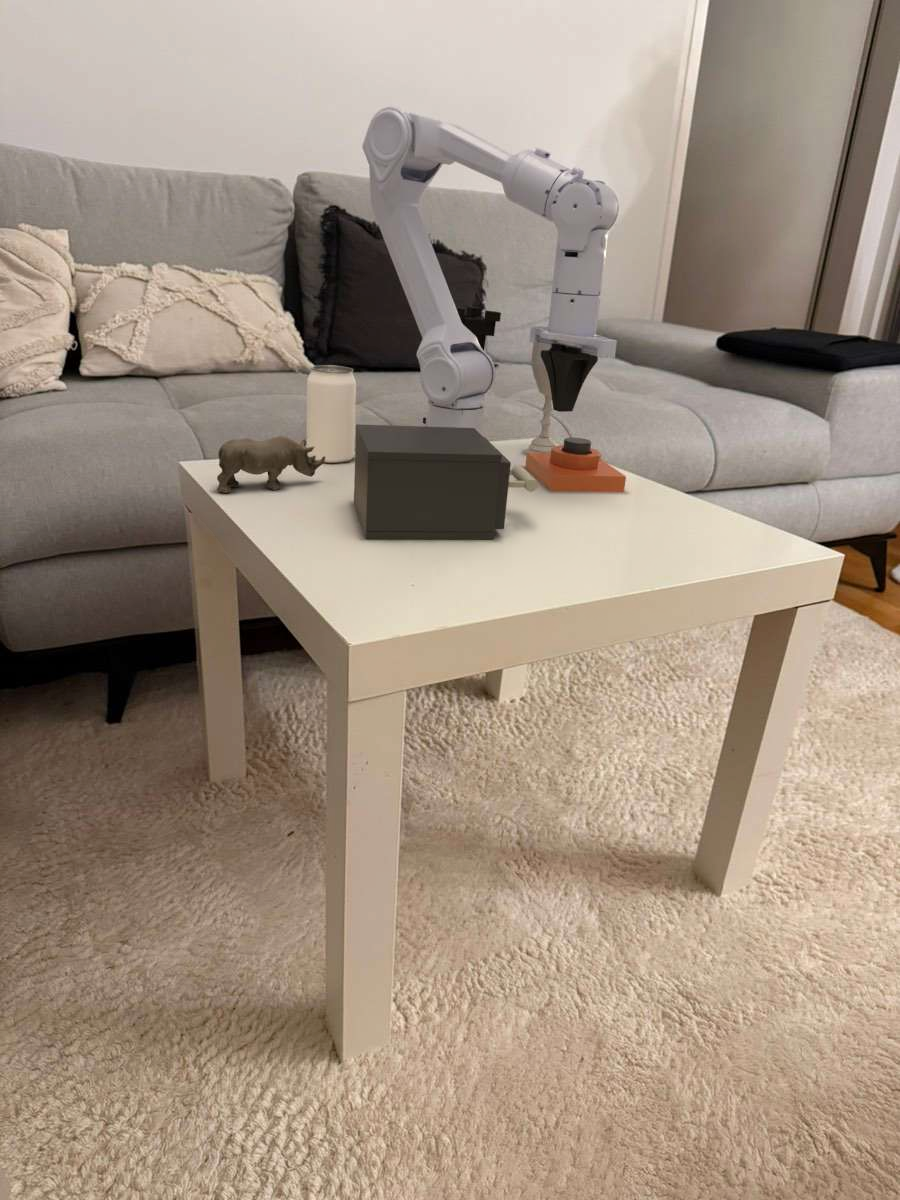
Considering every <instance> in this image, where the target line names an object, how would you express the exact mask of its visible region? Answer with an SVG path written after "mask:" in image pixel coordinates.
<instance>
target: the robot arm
mask: <svg viewBox="0 0 900 1200" xmlns="http://www.w3.org/2000/svg"><path fill="white" fill-rule="evenodd" d="M361 147H362V150H363V152H364V156H365V158H366V160H367V163H368V169H369V189H370V190H369V191H370V192H369V193H370V206H371V209H372V212H373V215H374V217H375V220H376V222H377V224H378V227H379V230H380V233H381V235H382V238H383V240H384V243H385V245H386V248H387V251H388V254H389V256H390V258H391V261H392V263H393V266H394V268H395V272H396V274H397V276H398V279H399V283H400V284H401V286H402V289H403V292H404V295H405V297H406V300H407V302H408V305H409V307H410V309H411V312H412V315H413V317H414V320H415V322H416V325H417V328H418V331H419V332H420V336H421V338H422V339H421V341H420V344H419V346H418V349H417V351H416V355H415V356H416V358H417V360H418V364H419V369H420V384H421V388H422V391H423V392H424V395H426V397H427V404H428V409H427V412H426V416H425V418H426V424H425V427H457V428H475V429H476V430H477V431H478V432H479V433H480V434H481V435H482V430H483V429H482V428H483V417H484V406H485V398H486V394H488V393H489V391H490V390H491V389H492V388H493V386H494V385H495V381H496V367H495V364H494V361H493V359H492V358H491V357H490V355H489V354H487V353H488V352H486V351H485V350H484V351H483V349H482V348H481V347H480V345H479V342H478V340H477V337H476V336H475V335H474V334H473V333H472V332H471V331H470V330H469V329H467V328H466V327H465V326H464V325H463V324H462V322H461V320H460V317H459V315H458V312H457V309H456V304H455V302H454V299H453V297H452V293H451V291H450V289H449V286H448V283H447V280H446V278H445V276H444V273H443V271H442V268H441V265H440V262H439V260H438V258H437V255H436V252H435V249H434V247H433V244H432V242H431V239H430V236H429V234H428V231H427V228H426V226H425V223H424V221H423V218H422V216H421V212H420V210H419V207H418V204H419V202H420V200H421V197H422V195H423V193H424V192H425V191H426V189H427V188H428V187H429V186H430V184H431V182H432V181H433V180H434V178H435V176H436V175H437V174H438V172H439V171H440V170H441V168H442V167H443V165H446V166H447V165H448V166H450V165H453V164H454V163H457V164H460V165H462V166H464V167H466V168H469V169H471V170H473V171H475V172H478V173H480V174H481V175H484V176H486V177H488V178H491V179H492V180H495V181H497V182H499V183H501V185H502V189H503V192H504V196H505V197H506V199H507V200H508V201H510V202H511V203H514V204H516V205H518V206H520V207H522V208H523V209H526V210H528V211H529V212H531V213H533V214H535V215H536V216H539V217H541V218H543V219H546V221H548V222H551V223H553V224H554V225H555V227H556V229H557V242H556V249H555V258H554V268H553V277H552V286H551V287H552V288H551V295H550V296H551V297H550V307H549V316H548V326H544V325H531V326H530V331H529V343H532V344H533V343H542V344H546V345H551V348H550V350H542V351H541V358H542V360H543V362H544V365H545V367H546V370H547V374H548V378H549V382H550V388H551V395H552V401H551V404H552V409H553V411H556V412H559V413H563V412H564V413H565V412H568V413H569V412H573V411H574V408H575V405H576V402H577V400H578V398H579V395H580V392H581V389H582V387H583V385H584V383H585V381H586V379H587V377H588V376H589V374H590V373H591V371H592V369H593V368H594V367H595V365H596V364H597V363H598V361H599V360H598V359H615V358H616V352H617V345H618V340H616V339H611V338H608V337H605V336H602V335H600V334H597V328H598V320H599V313H600V304H601V295H602V289H603V280H604V272H605V264H606V257H607V246H608V237H609V231H610V229H612V228H613V226H614V225H615V223H616V221H617V218H618V216H619V211H620V205H619V204H620V203H619V199H618V196H617V195H616V192H615V191H614V190H613V189H612V188H611V187H610V186H608V185H607V184H606V182H605V181H603V180H591V179H587V178H584V174H585V170H583V169H581V168H579V167H577V166H573V167H572V169H571V168H569V167H567V166H565V165H563V164H560V163H558V162H557V161H555V160H552V159H550V156H551V152H550V151H547V150H546V149H543V148H541V147H536V148H535V150H532V149H524V150H522V151H520V152H517V153H516V154H512V153H511V152H508V151H506V150H505V149H502V148H501V147H499V146H497V145H495V144H493V143H491V142H490V141H488V140H486V139H484V138H482V137H481V136H479V135H476V134H475V133H473V132H471V131H470V130H468V129H466V128H464V127H462V126H460V125H458V124H454V123H450V122H447V121H443V120H440V119H436V118H432V117H428V116H425V115H420V114H416V113H413V112H406V111H403V110H401V108H398V107H394V106H386V107H383V108H381V109H379V110H377V112H376V113H375V114H374V115H373V116H372V118H371V120H370V122H369V124H368V128H367V131H366V133H365V136H364V139H363V143H362V146H361ZM557 341H562V342H569V343H576V344H575V346H574V345H570V344H565V343H560V342H557Z"/></svg>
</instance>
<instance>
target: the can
mask: <svg viewBox="0 0 900 1200" xmlns="http://www.w3.org/2000/svg"><path fill="white" fill-rule="evenodd" d="M356 399H357V380H356V378H355V376H354V368H352V367H347V366H343V365H333V364H332V365H331V364H319V365H312V366H310V372H309V374H308V377H307V381H306V448H309V447H313V446H314V449H313V450H312V451H311V452H309V453H308V457H312V456H316V458H315V460H314V462H317V461H319V460H321V459H322V458H323V457H324V456H325V460H324V462H323V463H322V464H342V463H348V462H351V461H352V460H353V458H355V443H356V411H357V410H356V407H357V406H356V404H357V402H356V401H357V400H356Z"/></svg>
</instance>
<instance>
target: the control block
mask: <svg viewBox="0 0 900 1200" xmlns="http://www.w3.org/2000/svg"><path fill="white" fill-rule="evenodd" d="M563 445H564V444H559V445H556V446H554V447H553V448H552V449H551V453H533V452H527V453H526V455H525V465H524V467H525V469H526V470H528V471H529V472H530V474H532V475H533V476H534V477H536V479H537V480H538V481H540V482H541V483H542V484H543V485H544V487H546V488H547V489H548V490H549V491H550V492H593V493H594V492H595V493H596V492H597V493H624V492H625V487H626V481H627V480H626V479H627V476H626V475H625V474H623V473H622V472H620V471H619V470H618V469H616V468H615V467H613V466H612V465H610V464H609V463H608V462H606V461H604V460H603V459H602V452H601V451H600V450H598V449H595V448H592V447H591V448H590V454H587V455H577V454H570V453H566V452H563Z"/></svg>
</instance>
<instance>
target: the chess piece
mask: <svg viewBox="0 0 900 1200" xmlns="http://www.w3.org/2000/svg"><path fill="white" fill-rule="evenodd" d="M455 307H456V306H455ZM456 309H457V312H458V315H459V317H460V320H461V322H462V324H463V325H464V326H465V327H466V328H467V329H469V330H470V331H471V332H472V333H473V334H474V335H475V336H476V337H477V340H478V342H479V345H480V347H481V348H482V349H483V351H484V352H485V348H486V339H487V337H495V331H496V325H497V324H496V323H497V322H498V323H500V322H501V317H502V312H501V311H500V312H499V311H495V310H485V311H484V317H482V312H483V308H482V307H477V306H476V307H474V306H466V308H463V307H456ZM486 353H487V354H488V352H486ZM488 355H489V354H488ZM422 424H424V425H426V417H422Z"/></svg>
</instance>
